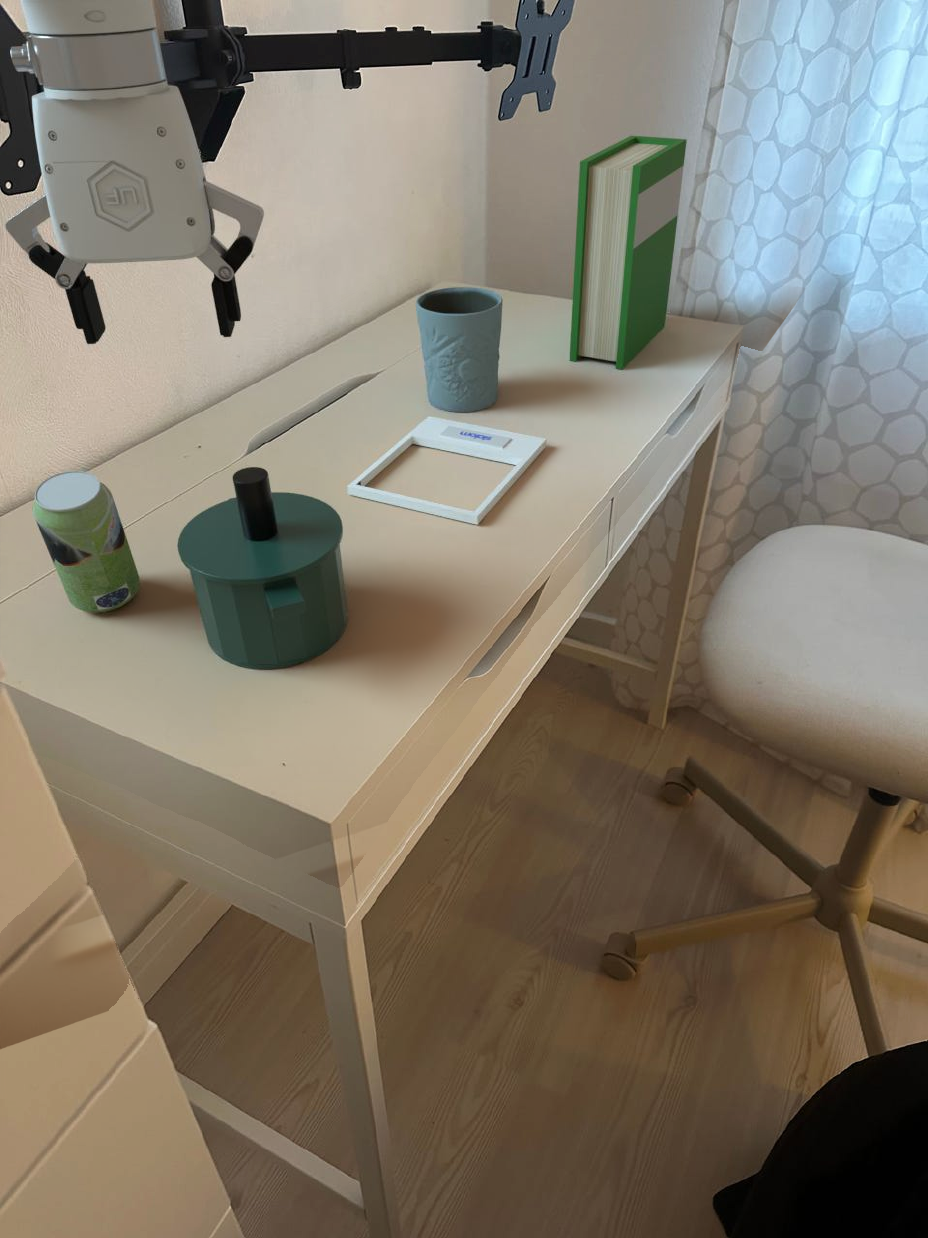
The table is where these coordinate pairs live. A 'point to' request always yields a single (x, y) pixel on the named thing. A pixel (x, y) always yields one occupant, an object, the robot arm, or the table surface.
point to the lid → (259, 534)
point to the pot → (275, 616)
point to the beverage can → (86, 541)
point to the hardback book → (625, 246)
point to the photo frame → (456, 440)
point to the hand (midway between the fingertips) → (162, 334)
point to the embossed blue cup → (460, 346)
